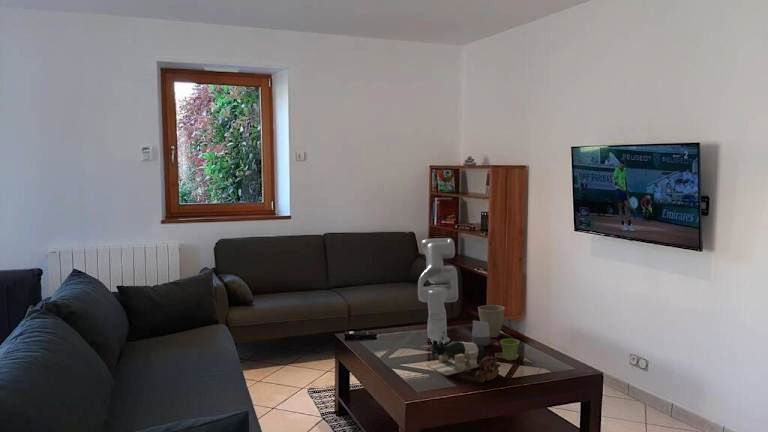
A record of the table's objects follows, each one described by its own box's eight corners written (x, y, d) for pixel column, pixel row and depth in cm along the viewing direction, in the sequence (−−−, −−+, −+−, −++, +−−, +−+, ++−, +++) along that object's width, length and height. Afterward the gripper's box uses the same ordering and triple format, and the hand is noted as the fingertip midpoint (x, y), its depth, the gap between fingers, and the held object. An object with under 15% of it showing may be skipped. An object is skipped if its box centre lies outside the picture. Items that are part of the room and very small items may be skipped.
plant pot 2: (521, 356, 290) (521, 339, 289) (517, 362, 282) (517, 345, 281) (503, 354, 294) (502, 338, 293) (498, 360, 285) (498, 343, 285)
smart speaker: (493, 344, 312) (492, 318, 311) (484, 348, 305) (483, 322, 304) (478, 341, 318) (477, 316, 317) (469, 345, 312) (468, 320, 311)
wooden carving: (484, 386, 253) (483, 364, 252) (475, 384, 256) (474, 362, 255) (502, 375, 265) (502, 354, 265) (493, 373, 268) (493, 352, 268)
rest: (426, 366, 282) (426, 351, 282) (459, 358, 292) (459, 343, 292) (446, 375, 269) (445, 359, 268) (480, 366, 278) (479, 351, 278)
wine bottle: (477, 340, 291) (430, 335, 276) (487, 349, 284) (438, 345, 269) (471, 353, 293) (423, 350, 278) (480, 364, 286) (432, 360, 271)
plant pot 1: (508, 338, 321) (507, 310, 320) (481, 340, 321) (480, 311, 320) (502, 331, 336) (501, 304, 334) (477, 332, 336) (476, 305, 335)
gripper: (420, 313, 279) (422, 351, 281) (440, 320, 265) (442, 359, 267) (433, 311, 283) (434, 348, 285) (453, 317, 269) (455, 356, 270)
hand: (438, 353), depth 276 cm, fingers closed on wine bottle, 3 cm apart
